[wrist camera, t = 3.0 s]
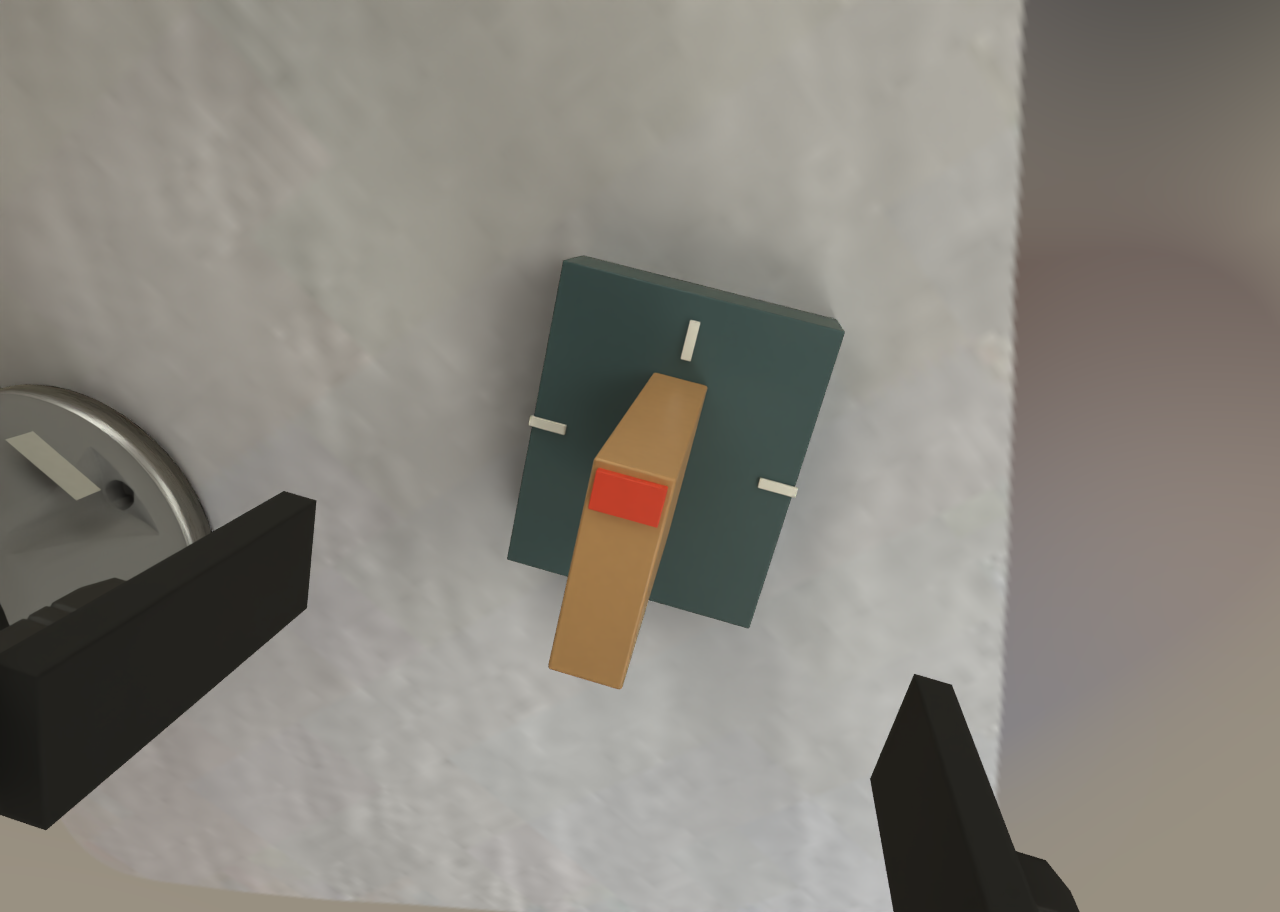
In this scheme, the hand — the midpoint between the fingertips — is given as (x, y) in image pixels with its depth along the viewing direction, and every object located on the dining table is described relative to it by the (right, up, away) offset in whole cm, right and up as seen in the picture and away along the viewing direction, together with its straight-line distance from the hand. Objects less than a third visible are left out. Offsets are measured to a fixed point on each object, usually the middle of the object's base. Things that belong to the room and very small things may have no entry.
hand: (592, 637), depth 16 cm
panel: (+2, +5, +15) cm, 16 cm away
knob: (+2, +4, +12) cm, 13 cm away
